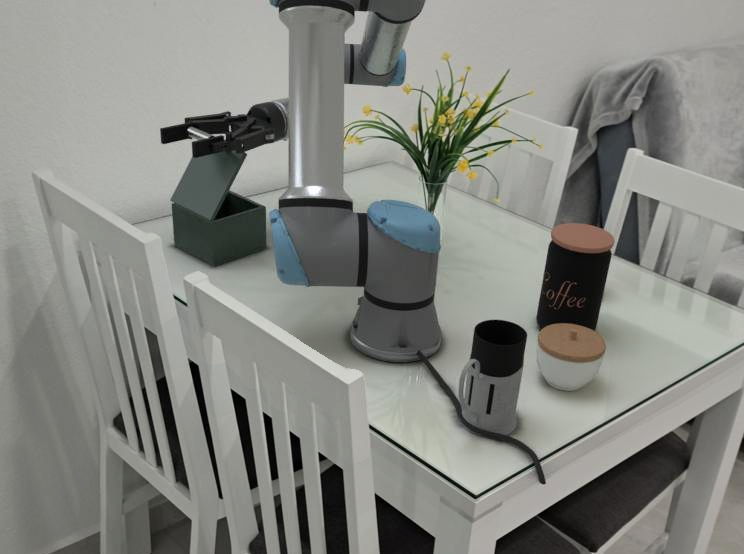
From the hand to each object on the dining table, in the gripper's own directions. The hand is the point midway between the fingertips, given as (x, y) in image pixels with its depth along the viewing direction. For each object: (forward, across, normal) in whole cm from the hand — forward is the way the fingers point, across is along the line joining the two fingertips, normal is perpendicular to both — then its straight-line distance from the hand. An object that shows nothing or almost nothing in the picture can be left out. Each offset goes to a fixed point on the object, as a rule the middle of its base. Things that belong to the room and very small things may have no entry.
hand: (177, 143), depth 161 cm
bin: (-9, 0, -23) cm, 24 cm away
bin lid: (-7, 0, -8) cm, 10 cm away
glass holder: (+2, -73, -23) cm, 76 cm away
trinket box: (-18, -74, -23) cm, 80 cm away
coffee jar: (-34, -65, -23) cm, 76 cm away
